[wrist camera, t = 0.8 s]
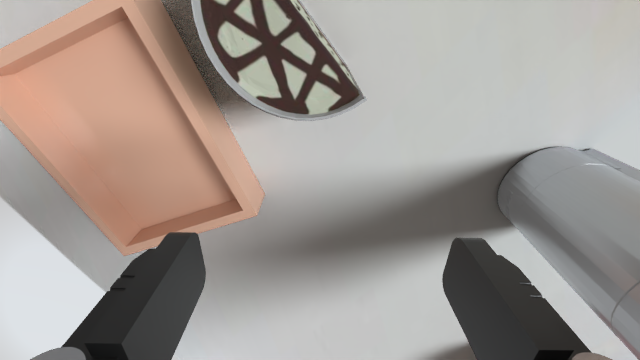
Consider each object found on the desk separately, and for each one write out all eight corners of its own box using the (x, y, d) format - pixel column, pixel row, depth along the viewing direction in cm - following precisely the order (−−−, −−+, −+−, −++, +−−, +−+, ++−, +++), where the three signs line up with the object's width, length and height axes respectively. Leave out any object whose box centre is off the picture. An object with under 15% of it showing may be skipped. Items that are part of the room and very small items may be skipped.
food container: (203, 4, 23) (127, -9, 14) (257, -58, 21) (207, -117, 12) (303, 120, 28) (292, 165, 19) (356, 78, 26) (370, 106, 17)
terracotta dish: (155, -10, 23) (124, -16, 19) (265, 194, 31) (257, 215, 28) (7, 65, 26) (-44, 71, 22) (145, 232, 34) (124, 256, 31)
